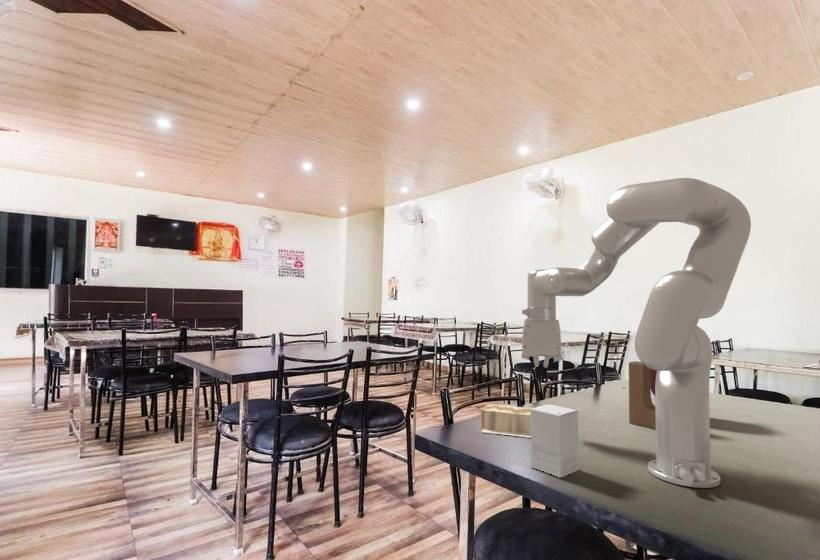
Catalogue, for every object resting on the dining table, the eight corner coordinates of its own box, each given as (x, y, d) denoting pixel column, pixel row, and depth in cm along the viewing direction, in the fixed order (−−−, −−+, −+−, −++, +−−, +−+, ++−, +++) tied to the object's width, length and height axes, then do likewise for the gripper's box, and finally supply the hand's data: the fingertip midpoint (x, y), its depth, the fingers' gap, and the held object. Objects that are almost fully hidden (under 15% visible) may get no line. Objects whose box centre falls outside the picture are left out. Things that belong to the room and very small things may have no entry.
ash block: (541, 416, 113) (481, 410, 118) (541, 435, 113) (481, 428, 118) (543, 409, 120) (486, 403, 126) (543, 427, 120) (486, 421, 125)
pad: (535, 439, 110) (535, 437, 110) (481, 432, 115) (481, 431, 115) (538, 424, 123) (538, 423, 123) (489, 419, 128) (489, 418, 128)
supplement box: (579, 470, 90) (579, 409, 91) (560, 479, 85) (560, 415, 86) (549, 459, 96) (548, 403, 96) (529, 467, 91) (529, 408, 92)
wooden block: (668, 428, 121) (667, 364, 122) (661, 431, 119) (660, 366, 120) (635, 421, 128) (635, 360, 129) (628, 423, 126) (627, 362, 127)
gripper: (512, 314, 117) (512, 381, 116) (570, 315, 112) (570, 386, 111) (515, 313, 124) (515, 376, 123) (570, 314, 119) (570, 381, 118)
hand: (541, 381), depth 117 cm, fingers closed
